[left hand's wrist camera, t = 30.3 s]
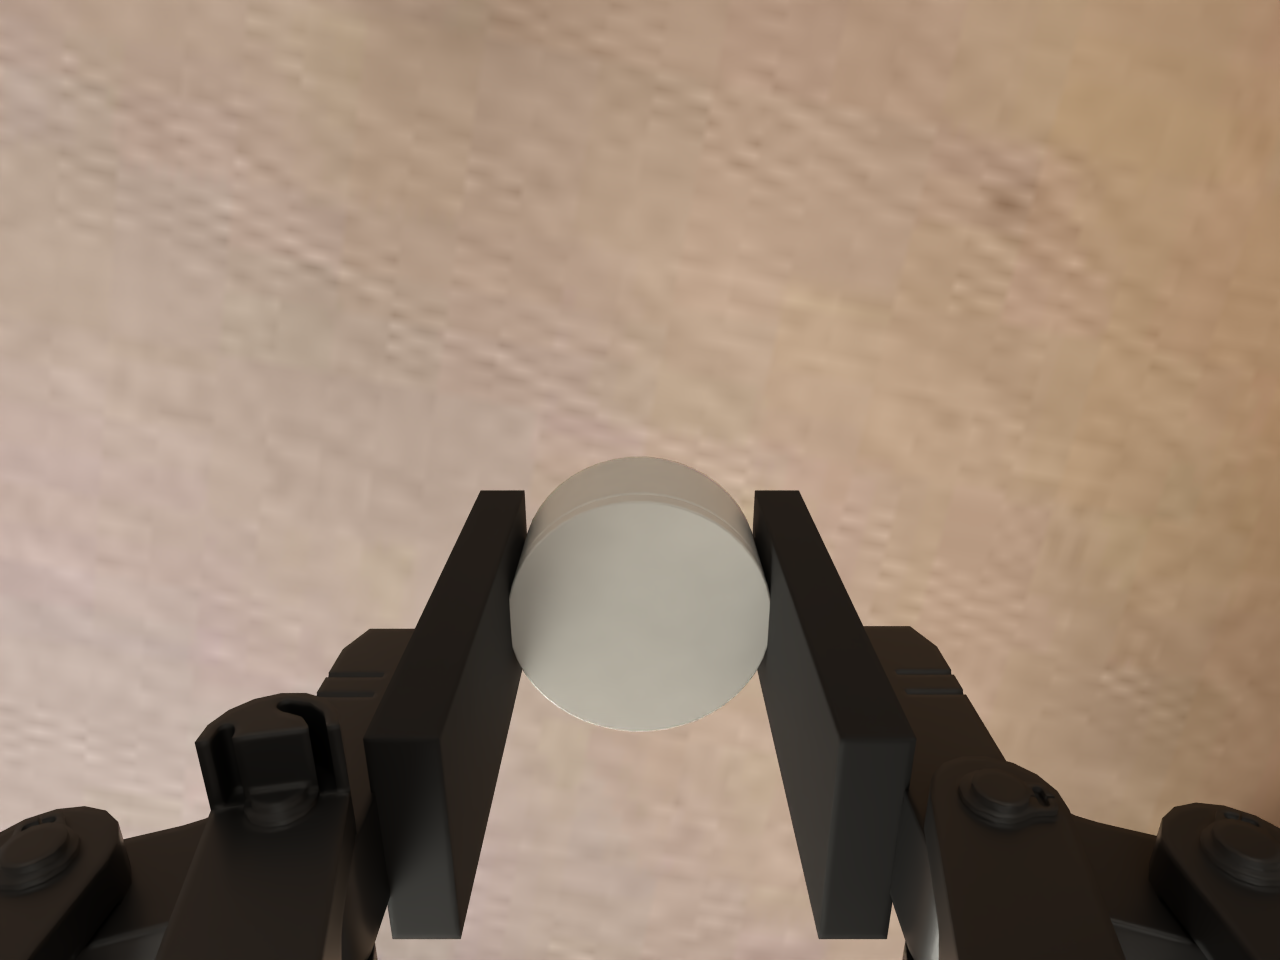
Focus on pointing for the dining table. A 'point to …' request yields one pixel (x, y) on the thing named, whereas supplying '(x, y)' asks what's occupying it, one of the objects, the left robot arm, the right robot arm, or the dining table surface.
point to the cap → (639, 596)
